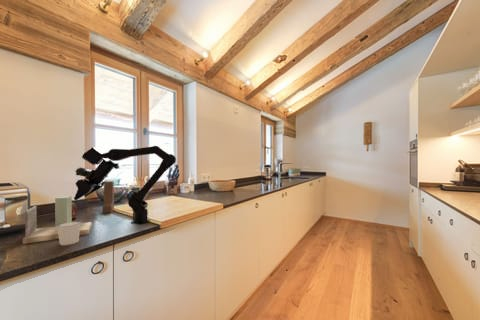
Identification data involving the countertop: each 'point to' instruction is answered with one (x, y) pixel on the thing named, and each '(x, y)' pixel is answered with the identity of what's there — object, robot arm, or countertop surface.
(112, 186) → the wooden block
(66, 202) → the sage block
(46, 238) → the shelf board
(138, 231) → the countertop surface
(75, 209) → the tin
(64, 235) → the white cup
